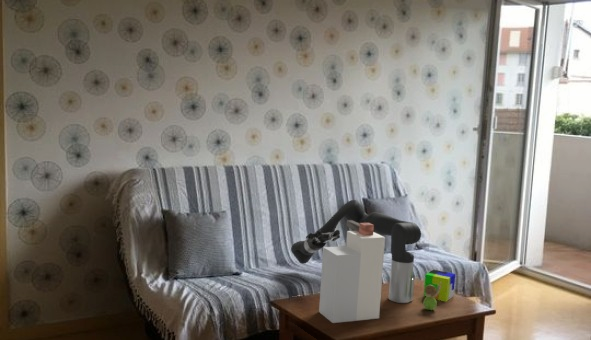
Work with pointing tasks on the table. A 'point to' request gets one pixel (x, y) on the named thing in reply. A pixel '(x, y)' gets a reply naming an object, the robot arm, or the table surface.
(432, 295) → the snail figurine
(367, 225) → the marker bar
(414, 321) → the table surface
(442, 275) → the puzzle toy
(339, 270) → the step stand
